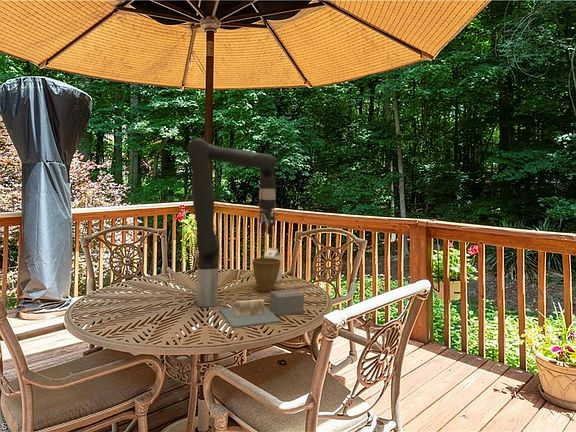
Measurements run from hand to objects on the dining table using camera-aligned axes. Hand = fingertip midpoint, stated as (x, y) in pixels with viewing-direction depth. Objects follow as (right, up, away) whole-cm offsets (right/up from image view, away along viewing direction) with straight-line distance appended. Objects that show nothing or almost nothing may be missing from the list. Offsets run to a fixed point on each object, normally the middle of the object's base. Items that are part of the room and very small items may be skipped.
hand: (266, 233), depth 189 cm
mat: (-7, -35, -17) cm, 39 cm away
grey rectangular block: (+9, -34, -8) cm, 36 cm away
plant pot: (-2, -31, +25) cm, 40 cm away
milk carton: (+1, -30, +45) cm, 54 cm away
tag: (-1, -31, -15) cm, 34 cm away
